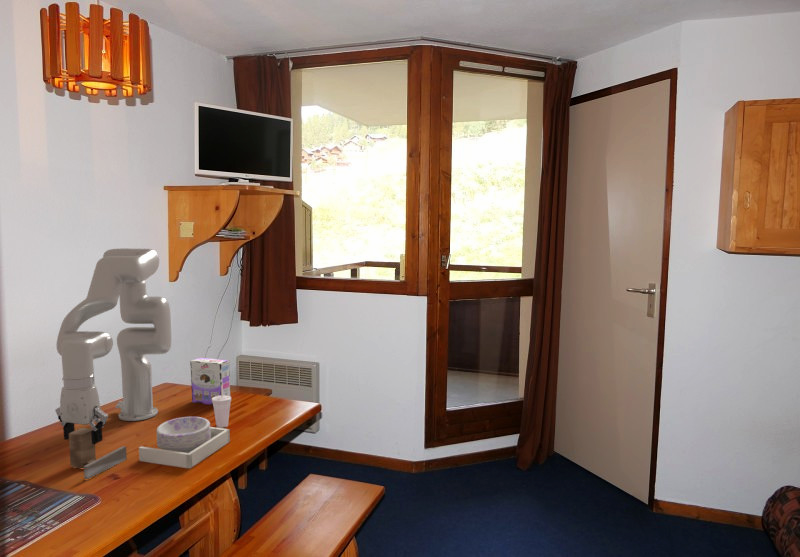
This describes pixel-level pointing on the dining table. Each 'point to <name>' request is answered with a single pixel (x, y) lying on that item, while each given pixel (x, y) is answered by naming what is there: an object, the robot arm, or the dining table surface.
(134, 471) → the dining table surface
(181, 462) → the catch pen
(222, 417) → the smoothie
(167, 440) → the paper bowls
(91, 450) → the scraper
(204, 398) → the candy box
